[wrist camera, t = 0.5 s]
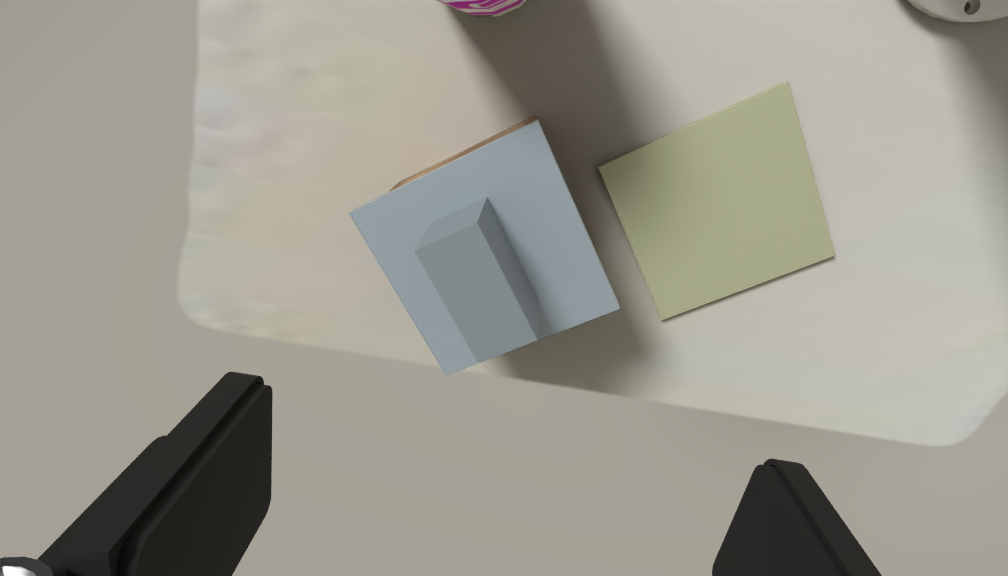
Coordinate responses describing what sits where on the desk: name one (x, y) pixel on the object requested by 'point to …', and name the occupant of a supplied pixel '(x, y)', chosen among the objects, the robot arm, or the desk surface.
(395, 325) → the desk surface
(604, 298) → the lid
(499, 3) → the supplement can
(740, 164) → the felt mat
